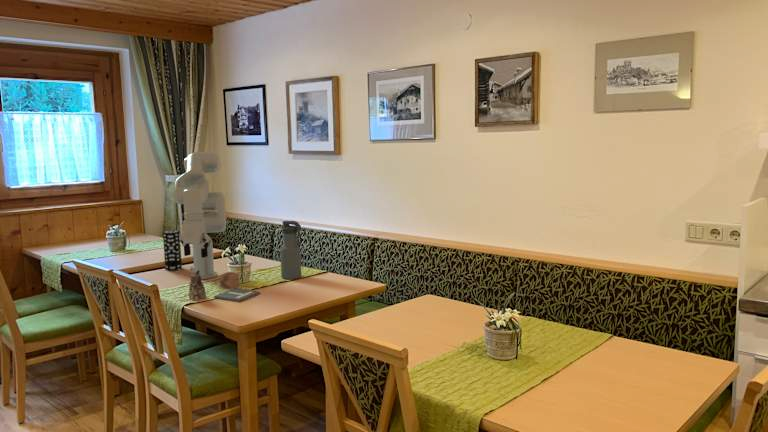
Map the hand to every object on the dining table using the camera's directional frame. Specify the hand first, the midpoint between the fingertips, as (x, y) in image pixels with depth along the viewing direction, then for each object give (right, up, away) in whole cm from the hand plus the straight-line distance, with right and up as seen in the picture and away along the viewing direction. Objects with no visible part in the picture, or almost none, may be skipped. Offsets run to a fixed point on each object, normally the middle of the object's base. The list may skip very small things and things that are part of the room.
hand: (196, 256), depth 261 cm
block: (+9, -16, +21) cm, 28 cm away
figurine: (0, -19, +3) cm, 19 cm away
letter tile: (+17, -18, +5) cm, 25 cm away
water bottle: (+36, -13, +36) cm, 53 cm away
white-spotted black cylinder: (-29, -11, +56) cm, 64 cm away
